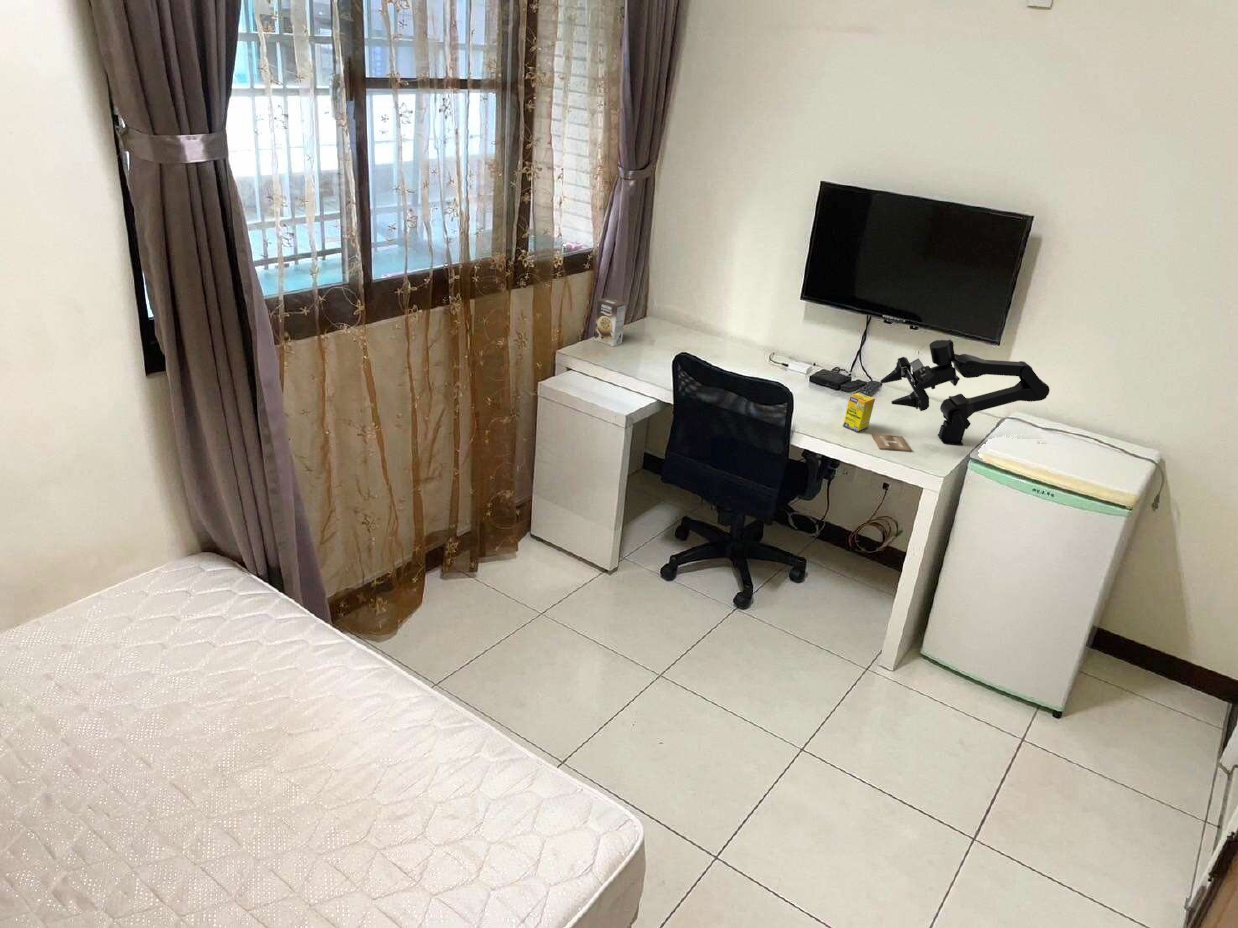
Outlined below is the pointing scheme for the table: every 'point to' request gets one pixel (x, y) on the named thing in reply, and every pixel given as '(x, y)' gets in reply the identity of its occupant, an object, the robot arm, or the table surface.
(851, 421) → the supplement box
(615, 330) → the coffee box
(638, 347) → the table surface
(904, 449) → the pad
